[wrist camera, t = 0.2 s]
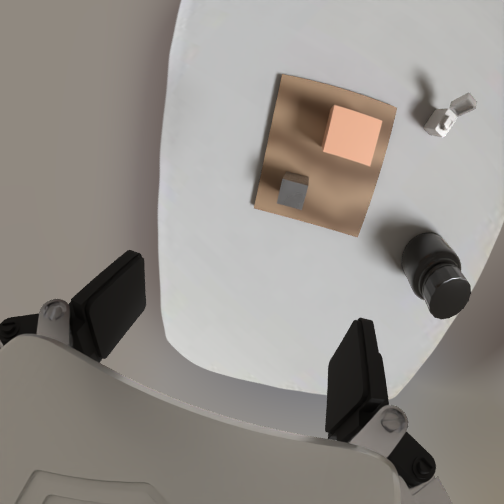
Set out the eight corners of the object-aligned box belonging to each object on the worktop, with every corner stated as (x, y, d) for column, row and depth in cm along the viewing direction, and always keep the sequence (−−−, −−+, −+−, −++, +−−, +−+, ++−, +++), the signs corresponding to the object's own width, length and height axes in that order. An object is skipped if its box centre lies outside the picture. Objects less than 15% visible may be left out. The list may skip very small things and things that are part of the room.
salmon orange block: (330, 108, 31) (334, 104, 25) (370, 120, 30) (382, 120, 24) (321, 146, 33) (323, 151, 28) (360, 158, 33) (370, 166, 27)
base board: (283, 75, 31) (282, 74, 30) (394, 108, 29) (396, 107, 28) (255, 205, 41) (253, 208, 40) (356, 234, 39) (357, 237, 38)
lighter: (431, 135, 30) (456, 141, 23) (422, 127, 29) (447, 131, 22) (452, 102, 26) (480, 102, 19) (444, 94, 26) (471, 92, 19)
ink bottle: (438, 281, 39) (463, 325, 29) (396, 280, 41) (413, 328, 31) (451, 230, 35) (485, 267, 24) (406, 227, 37) (433, 266, 26)
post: (286, 171, 36) (282, 178, 31) (309, 176, 36) (308, 185, 31) (281, 192, 38) (276, 203, 33) (303, 198, 37) (301, 210, 33)
